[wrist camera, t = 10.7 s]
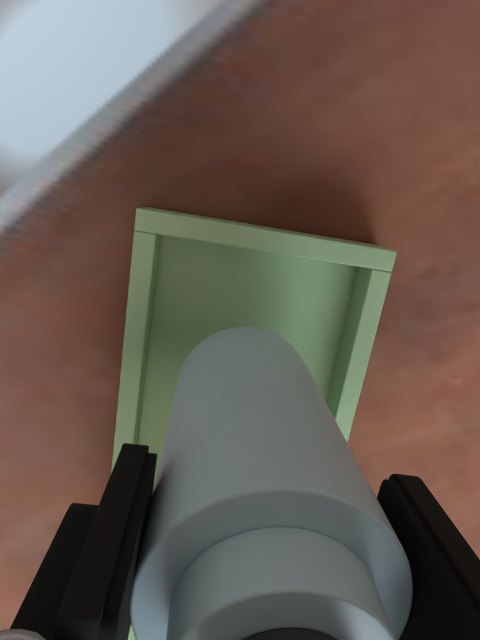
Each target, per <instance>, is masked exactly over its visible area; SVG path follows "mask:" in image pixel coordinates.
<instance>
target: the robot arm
mask: <svg viewBox="0 0 480 640" xmlns="http://www.w3.org/2000/svg"><path fill="white" fill-rule="evenodd" d="M148 452H149V446H147V445H138V444H130V443H123V445H122V447H121V450H120V453H119V455H118V458H117V460H116V463H115V465H114V468H113V471H112V473H111V476H110V478H109V481H108V483H107V486H106V489H105V491H104V494H103V496H102V499H101V501H100V504H99V505H89V504H79V503H72V504H71V505H70V507H69V508H68V510H67V512H66V514H65V516H64V518H63V520H62V522H61V524H60V527H59V529H58V531H57V533H56V535H55V537H54V539H53V541H52V543H51V545H50V547H49V549H48V551H47V553H46V555H45V557H44V560H43V562H42V564H41V566H40V568H39V570H38V572H37V574H36V576H35V578H34V580H33V582H32V584H31V586H30V588H29V590H28V593H27V595H26V597H25V599H24V601H23V603H22V605H21V607H20V609H19V611H18V613H17V615H16V617H15V619H14V621H13V623H12V626H11V628H10V629H8V630H2V631H0V640H128V636H129V631H130V626H131V618H130V603H131V595H132V587H133V580H134V575H135V570H136V566H137V561H138V557H139V552H140V548H141V543H142V539H143V534H144V530H145V525H146V521H147V516H148V512H149V507H150V503H151V498H152V493H153V486H154V478H155V470H156V462H157V453H148ZM377 500H378V502H379V504H380V505H381V507H382V509H383V511H384V513H385V515H386V517H387V519H388V520H389V522H390V524H391V526H392V528H393V530H394V532H395V534H396V536H397V537H398V539H399V541H400V543H401V545H402V547H403V549H404V551H405V554H406V556H407V558H408V561H409V565H410V569H411V573H412V584H413V597H412V607H411V611H410V615H409V618H408V621H407V624H406V626H405V629H404V631H403V633H402V635H401V637H400V638H399V640H480V560H479V558H478V557H477V556H476V554H475V553H474V551H473V550H472V549H471V547H470V546H469V545H468V543H467V542H466V540H465V539H464V538H463V536H462V535H461V533H460V532H459V531H458V529H457V528H456V527H455V525H454V524H453V522H452V521H451V520H450V518H449V517H448V516H447V514H446V513H445V511H444V510H443V509H442V507H441V506H440V505H439V503H438V502H437V500H436V499H435V498H434V496H433V495H432V493H431V492H430V491H429V489H428V488H427V487H426V485H425V484H424V482H423V481H422V480H421V479H420V478H419V477H417V476H409V475H400V474H392V475H391V476H390V477H389V479H388V480H387V479H385V480H383V482H382V484H381V486H380V490H379V493H378V497H377Z"/></svg>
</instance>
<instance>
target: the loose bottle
mask: <svg viewBox="0 0 480 640" xmlns="http://www.w3.org/2000/svg"><path fill="white" fill-rule="evenodd" d="M412 597H413V584H412V573H411V569H410V565H409V561H408V558H407V556H406V554H405V551H404V549H403V547H402V545H401V543H400V541H399V539H398V537H397V536H396V534H395V532H394V530H393V528H392V526H391V524H390V522H389V520H388V519H387V517H386V515H385V513H384V511H383V509H382V507H381V505H380V504H379V502H378V500H377V498H376V496H375V494H374V492H373V490H372V489H371V487H370V485H369V483H368V481H367V479H366V477H365V475H364V473H363V472H362V470H361V468H360V466H359V464H358V462H357V460H356V458H355V457H354V455H353V453H352V451H351V449H350V447H349V445H348V443H347V441H346V440H345V438H344V436H343V434H342V432H341V430H340V428H339V426H338V425H337V423H336V421H335V419H334V417H333V415H332V413H331V411H330V410H329V408H328V406H327V404H326V402H325V400H324V398H323V396H322V394H321V393H320V391H319V389H318V387H317V385H316V383H315V381H314V379H313V378H312V376H311V374H310V372H309V370H308V368H307V366H306V364H305V362H304V361H303V359H302V357H301V356H300V354H299V353H298V351H297V350H296V349H295V348H294V347H293V346H292V345H291V344H290V343H289V342H288V341H287V340H285V339H284V338H282V337H281V336H279V335H277V334H275V333H273V332H270V331H268V330H265V329H260V328H256V327H235V328H229V329H225V330H222V331H219V332H217V333H215V334H212V335H211V336H209V337H207V338H206V339H204V340H203V341H201V342H200V343H199V344H198V345H197V346H196V347H195V348H194V349H193V350H192V351H191V352H190V353H189V355H188V356H187V358H186V359H185V361H184V363H183V365H182V367H181V370H180V373H179V377H178V381H177V385H176V390H175V394H174V399H173V403H172V408H171V412H170V417H169V421H168V426H167V430H166V435H165V439H164V444H163V448H162V452H161V457H160V461H159V466H158V470H157V475H156V479H155V484H154V488H153V493H152V498H151V503H150V507H149V512H148V516H147V521H146V525H145V530H144V534H143V539H142V543H141V548H140V552H139V557H138V561H137V566H136V570H135V575H134V580H133V587H132V595H131V603H130V618H131V625H132V629H133V632H134V635H135V638H136V640H399V638H400V637H401V635H402V633H403V631H404V629H405V626H406V624H407V621H408V618H409V615H410V611H411V607H412Z"/></svg>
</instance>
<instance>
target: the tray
mask: <svg viewBox="0 0 480 640" xmlns="http://www.w3.org/2000/svg"><path fill="white" fill-rule="evenodd" d="M134 229H135V231H134V237H133V247H132V258H131V268H130V279H129V289H128V300H127V310H126V321H125V331H124V342H123V352H122V363H121V374H120V384H119V395H118V405H117V416H116V426H115V437H114V447H113V458H112V468H111V473H112V471H113V468H114V465H115V463H116V460H117V458H118V455H119V453H120V450H121V447H122V445H123V443H130V444H138V445H147V446H149V452H148V453H157V462H156V470H155V478H154V484H155V479H156V475H157V470H158V466H159V461H160V457H161V452H162V448H163V444H164V439H165V435H166V430H167V426H168V421H169V417H170V412H171V408H172V403H173V399H174V394H175V390H176V385H177V381H178V377H179V373H180V370H181V367H182V365H183V363H184V361H185V359H186V358H187V356H188V355H189V353H190V352H191V351H192V350H193V349H194V348H195V347H196V346H197V345H198V344H199V343H200V342H201V341H203V340H204V339H206V338H207V337H209V336H211V335H212V334H215V333H217V332H219V331H222V330H225V329H229V328H235V327H256V328H260V329H265V330H268V331H270V332H273V333H275V334H277V335H279V336H281V337H282V338H284V339H285V340H287V341H288V342H289V343H290V344H291V345H292V346H293V347H294V348H295V349H296V350H297V351H298V353H299V354H300V356H301V357H302V359H303V361H304V362H305V364H306V366H307V368H308V370H309V372H310V374H311V376H312V378H313V379H314V381H315V383H316V385H317V387H318V389H319V391H320V393H321V394H322V396H323V398H324V400H325V402H326V404H327V406H328V408H329V410H330V411H331V413H332V415H333V417H334V419H335V421H336V423H337V425H338V426H339V428H340V430H341V432H342V434H343V436H344V438H345V440H346V441H347V442H348V438H349V434H350V430H351V427H352V423H353V419H354V415H355V411H356V407H357V404H358V400H359V396H360V392H361V388H362V384H363V381H364V377H365V373H366V369H367V365H368V362H369V358H370V354H371V350H372V346H373V342H374V339H375V335H376V331H377V327H378V323H379V319H380V316H381V312H382V308H383V304H384V300H385V296H386V293H387V289H388V285H389V281H390V277H391V271H392V270H393V266H394V262H395V258H396V254H397V251H396V250H392V249H389V248H385V247H382V246H379V245H374V244H368V243H362V242H356V241H350V240H344V239H338V238H332V237H326V236H320V235H314V234H308V233H302V232H296V231H290V230H283V229H277V228H271V227H265V226H259V225H253V224H247V223H241V222H235V221H229V220H223V219H217V218H211V217H205V216H199V215H193V214H187V213H181V212H175V211H169V210H163V209H157V208H151V207H143V208H137V209H136V216H135V226H134ZM153 488H154V486H153ZM128 640H136V638H135V635H134V632H133V629H132V625H131V626H130V631H129V636H128Z"/></svg>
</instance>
